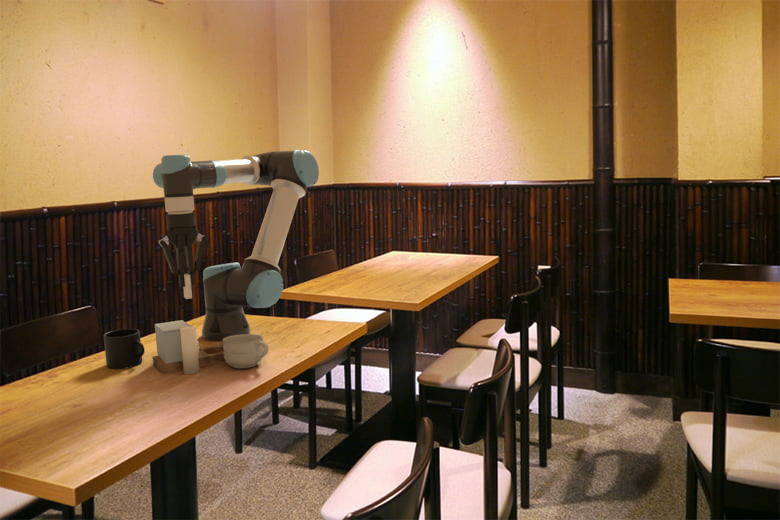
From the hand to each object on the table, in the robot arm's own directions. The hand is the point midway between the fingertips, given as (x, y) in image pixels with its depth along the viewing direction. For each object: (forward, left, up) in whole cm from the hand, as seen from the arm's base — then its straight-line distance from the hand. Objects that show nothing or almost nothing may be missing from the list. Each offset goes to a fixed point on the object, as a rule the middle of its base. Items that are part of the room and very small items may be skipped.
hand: (188, 297), depth 185 cm
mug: (+15, -10, -19) cm, 26 cm away
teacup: (-11, +13, -19) cm, 26 cm away
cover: (+5, 0, -16) cm, 17 cm away
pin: (+3, +8, -19) cm, 20 cm away
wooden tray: (0, 0, -19) cm, 19 cm away
